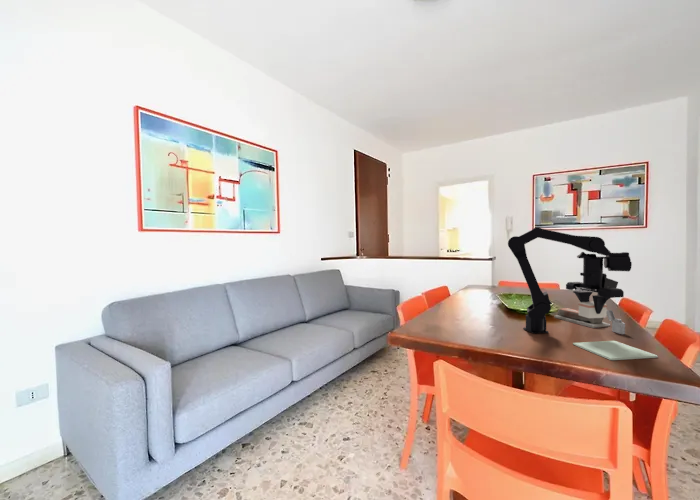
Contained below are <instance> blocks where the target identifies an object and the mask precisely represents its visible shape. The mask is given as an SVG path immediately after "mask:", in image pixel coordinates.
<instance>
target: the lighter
mask: <svg viewBox="0 0 700 500" xmlns="http://www.w3.org/2000/svg"><path fill="white" fill-rule="evenodd" d="M606 317H607V318H608V322H611V332H613V333H616V334H619V335H626V322H623V321H622V319H621V318H616V316H615V313H614V311H613V310H612V309H607V314H606Z"/></svg>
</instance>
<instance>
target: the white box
mask: <svg viewBox="0 0 700 500" xmlns="http://www.w3.org/2000/svg"><path fill="white" fill-rule="evenodd" d="M607 308H608V305H607V303H605V304H604V306H603V308H602V311H601V313H600V314H597V313H596V311H595V306H594V301H589V302H580V301H578V311H579V316H583V317H586V318H607V310H608V309H607Z"/></svg>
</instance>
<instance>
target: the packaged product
mask: <svg viewBox="0 0 700 500" xmlns="http://www.w3.org/2000/svg"><path fill="white" fill-rule="evenodd" d="M554 318H555V319H559V320H562V321H566V322H568V323H573V324H576V325H581V326H584V327H587V328H588V327H589V328H592V329H594V328H595V329H598V328H603V327H604V328H605V327H611V326H612V323H607V322H604V321H603V320H604V318H586V317H583V316H579V309H572V308H569V307H568V308H567V307H564V308H563V307H562V308H558V309H557V314H554Z"/></svg>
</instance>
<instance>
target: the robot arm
mask: <svg viewBox="0 0 700 500" xmlns="http://www.w3.org/2000/svg"><path fill="white" fill-rule="evenodd" d="M538 238H539V239H544V240H549V241H553V242H558V243H561V244H567V245H571V246H574V247H576V248H578V249H580V250H584V251H586V252H589V253H586V252H584V251H581V252H580V254H578V255H576V258H577V259H582V263H583V264H582V265H583V267H582V270H583V271H582V272H579V273H580V274H579V275H580V276H582V282H581V281H569V282H566V284H565V290H568V291H572V293H573V294H574V295H575V297H577V299H578V302H590V297H591V295H592V294H593V293H597V294H596V295H595V294H593V295H592V300H593V301H592V302H594V306H595V311H596V313H597V314H600V313H601V311H602V308H603V306H604V304H607V301H608V300H609V299H613V298H624V295H625V294H624V293H625V292H624V290H623V289H622V288H617V286H618V285H619V281H616V280H613V279H611V278H608V276H607V273H604V269H607V271H608V272H630V271H631V270H632V265H633V264H632V263H633V262H632V261H631V257H630V252H627V251H625V252H624V251H623V252H611V251H610V250H609V249H608V247H606V243H605V240H604V239H603V238H602V237H600V236H587V235H585V236H584V235H573V234H570V233H564V232H559V231H555V230H554V231H553V230H549V229H545V228H541V227H537V226H536V227H533V228H532V229H531V230H529V231H527V232H525V233H523V234H521V235H519V236H517V235H516V236H515V235H514V236H512V237H510V238H509V240H508V242H507V245H508V248H509V250H510V251H511V253H512V255H514V257H515V259H516V260H517V263H518V264H519V267H520V269H521V272H522V275H523V277H524V280H525V281H526V284H527V287H528V289H529V291H530V298H531V302H532V304H530V305H529V306H527V307H526V311H527V314H525V327H523V328H522V329H523V330H525V331H527V332H529V333H531V334H549V330H547V318H546V314H548V313H550V311H551V310H552V304H553V303H552V301H551V300H550V298H549V294H548V292H547V291H544V292H543V291H542V289H541V287H540V285H539V283H538V281H537V278H536V276H535V273H534V271H533V268H532V266H531V264H530V262H529V259H528V256H527V251H526V246H525V245H526V244H528V243H530V242H532V241H534V240H535V239H538ZM596 253H597V254H598V255H601V256H597V254H596Z"/></svg>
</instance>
